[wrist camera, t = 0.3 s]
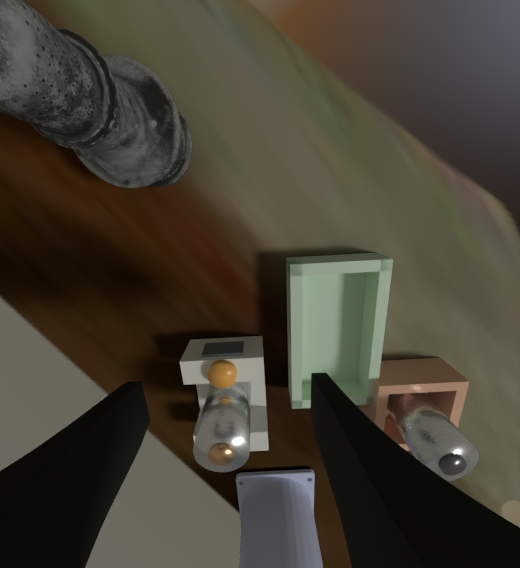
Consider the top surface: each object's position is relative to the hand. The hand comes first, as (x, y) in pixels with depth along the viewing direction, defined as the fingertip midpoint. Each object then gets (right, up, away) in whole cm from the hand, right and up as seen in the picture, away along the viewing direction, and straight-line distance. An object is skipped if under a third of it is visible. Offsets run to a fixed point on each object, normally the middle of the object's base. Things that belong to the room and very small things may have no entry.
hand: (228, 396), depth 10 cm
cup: (+14, -5, +12) cm, 19 cm away
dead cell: (+14, -5, +11) cm, 19 cm away
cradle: (-1, -4, +11) cm, 12 cm away
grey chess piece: (-6, +14, +6) cm, 16 cm away
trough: (+7, +1, +10) cm, 12 cm away
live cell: (-1, -4, +11) cm, 12 cm away
